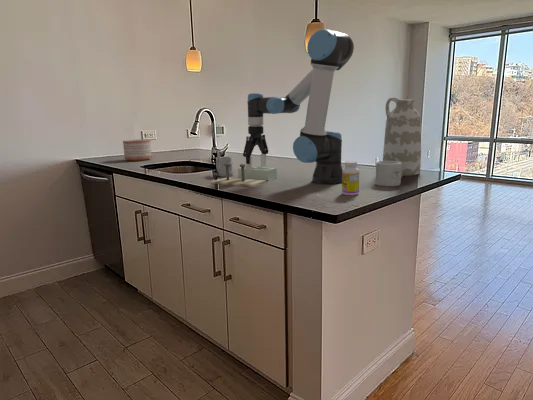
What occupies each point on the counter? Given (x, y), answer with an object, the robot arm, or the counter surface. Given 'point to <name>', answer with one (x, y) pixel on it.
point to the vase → (403, 136)
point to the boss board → (238, 181)
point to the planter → (137, 149)
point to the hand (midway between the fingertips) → (256, 168)
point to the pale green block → (259, 173)
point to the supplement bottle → (350, 179)
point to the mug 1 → (221, 167)
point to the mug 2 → (388, 173)
